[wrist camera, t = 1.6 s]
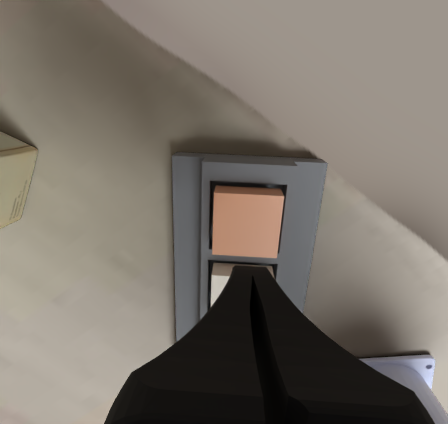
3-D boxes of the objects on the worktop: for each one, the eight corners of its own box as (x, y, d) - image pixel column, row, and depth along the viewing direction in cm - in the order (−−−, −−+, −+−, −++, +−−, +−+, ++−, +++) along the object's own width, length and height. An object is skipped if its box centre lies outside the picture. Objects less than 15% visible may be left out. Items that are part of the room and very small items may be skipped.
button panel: (290, 358, 26) (296, 389, 23) (180, 350, 26) (173, 379, 24) (321, 159, 20) (335, 168, 17) (176, 152, 20) (166, 159, 17)
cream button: (266, 313, 21) (268, 329, 20) (212, 309, 21) (210, 325, 20) (271, 265, 20) (274, 279, 18) (213, 262, 20) (211, 275, 19)
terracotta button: (274, 246, 19) (276, 258, 18) (214, 242, 20) (212, 254, 18) (280, 188, 18) (284, 196, 16) (215, 185, 18) (213, 192, 17)
